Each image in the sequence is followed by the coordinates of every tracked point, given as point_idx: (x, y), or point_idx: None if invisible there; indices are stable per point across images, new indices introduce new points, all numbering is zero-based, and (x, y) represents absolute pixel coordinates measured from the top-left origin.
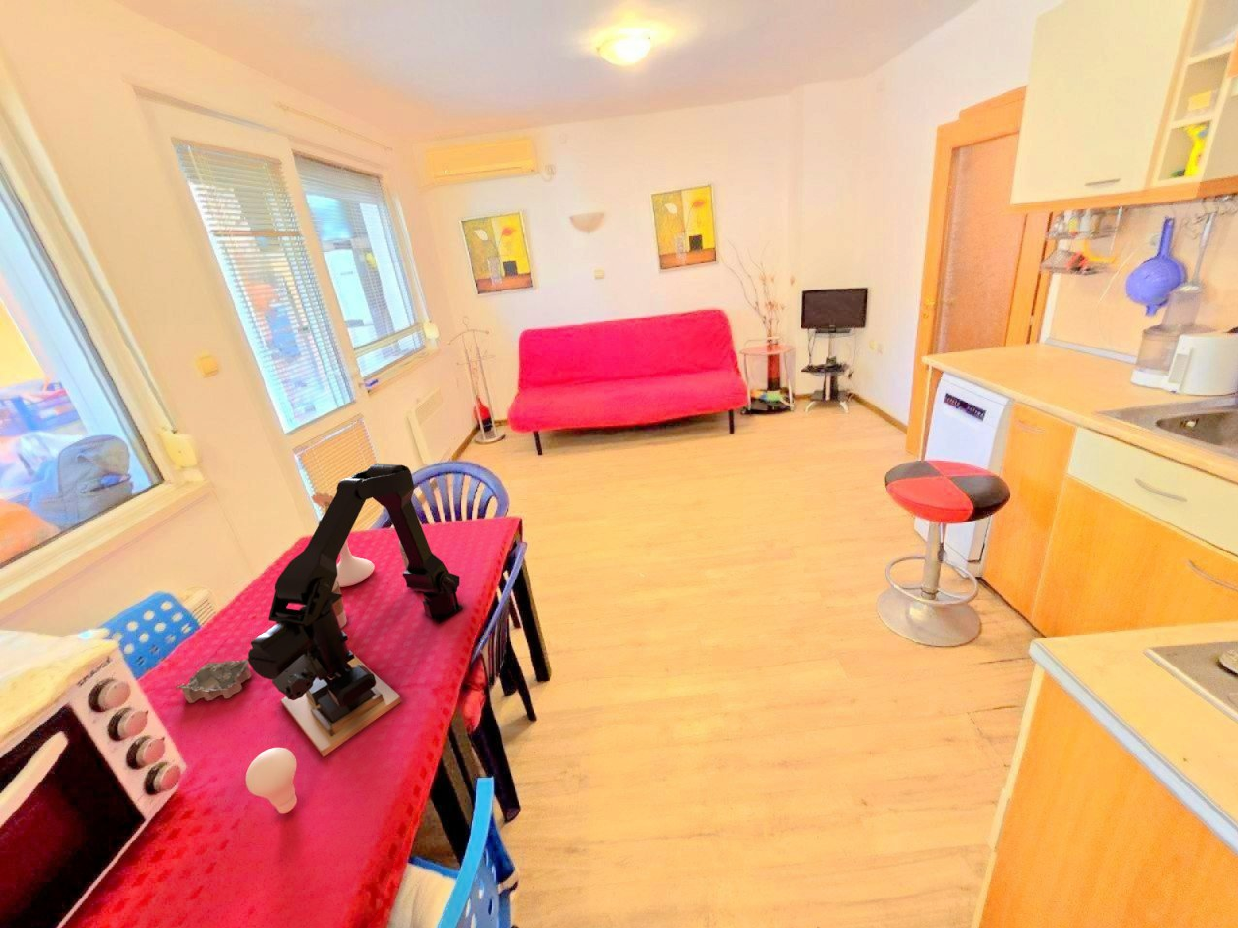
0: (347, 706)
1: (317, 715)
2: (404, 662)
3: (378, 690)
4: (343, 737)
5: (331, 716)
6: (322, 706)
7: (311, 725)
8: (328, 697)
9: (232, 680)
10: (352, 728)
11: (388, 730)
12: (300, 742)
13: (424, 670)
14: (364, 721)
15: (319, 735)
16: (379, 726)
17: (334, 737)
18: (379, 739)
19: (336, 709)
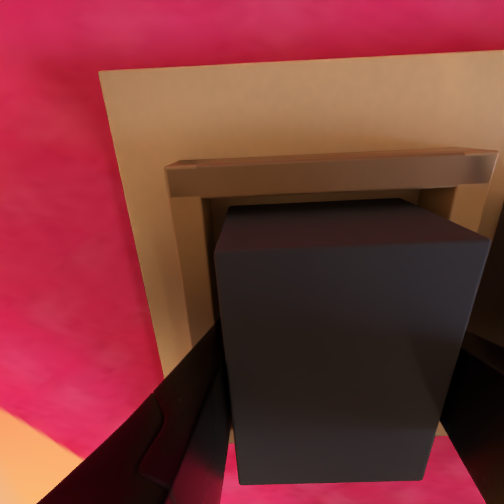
0: (186, 355)
1: (384, 166)
2: (366, 485)
3: None
4: (130, 208)
5: (219, 238)
6: (383, 232)
7: (385, 108)
8: (413, 308)
9: None
10: (147, 263)
11: (67, 341)
12: (350, 11)
13: (263, 501)
14: (152, 314)
15: (249, 113)
16: (117, 329)
17: (158, 174)
18: (41, 303)
19: (221, 298)
